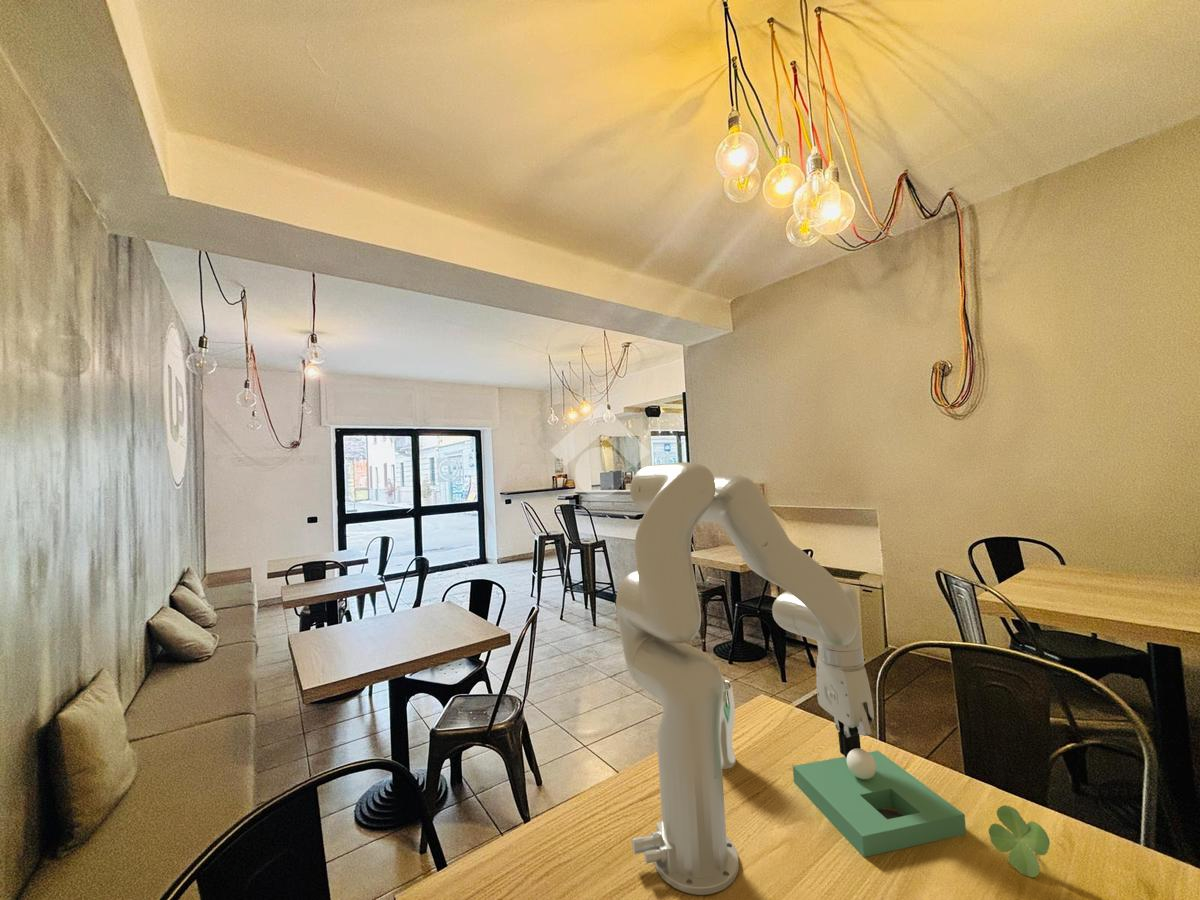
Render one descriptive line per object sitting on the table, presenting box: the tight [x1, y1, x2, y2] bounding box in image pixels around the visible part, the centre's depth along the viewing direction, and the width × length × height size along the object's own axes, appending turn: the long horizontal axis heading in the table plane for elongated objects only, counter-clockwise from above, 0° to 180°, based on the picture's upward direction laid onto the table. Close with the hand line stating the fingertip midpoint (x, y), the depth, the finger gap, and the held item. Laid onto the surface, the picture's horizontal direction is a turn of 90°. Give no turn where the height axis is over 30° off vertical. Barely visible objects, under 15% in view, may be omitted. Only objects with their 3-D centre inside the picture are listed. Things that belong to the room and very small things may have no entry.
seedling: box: [988, 804, 1051, 878], centre depth 71 cm, size 7×8×6 cm
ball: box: [847, 748, 876, 779], centre depth 86 cm, size 5×5×5 cm
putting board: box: [792, 750, 967, 858], centre depth 83 cm, size 18×18×3 cm
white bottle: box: [720, 678, 736, 770], centre depth 98 cm, size 7×7×15 cm
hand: (850, 754), depth 89 cm, fingers closed
